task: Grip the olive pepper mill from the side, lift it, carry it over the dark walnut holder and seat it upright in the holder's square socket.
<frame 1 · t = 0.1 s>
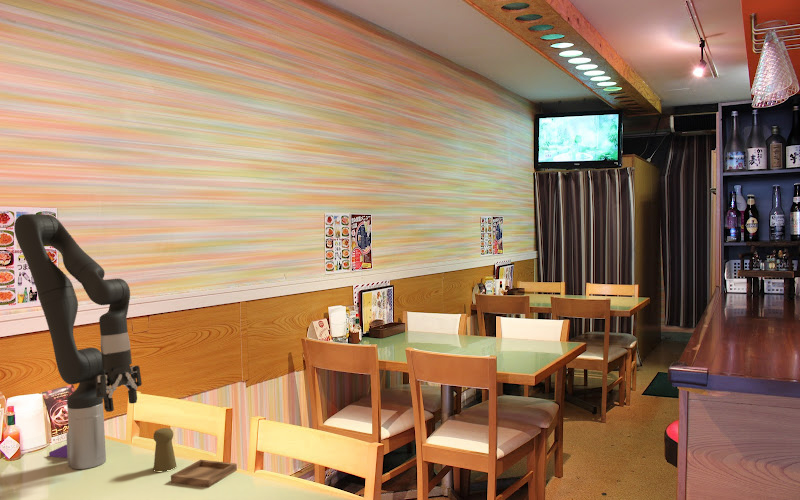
hand: (121, 407, 176), 17 cm above the table, tool pointing down, fingers open, 8 cm apart
holder: (204, 476, 168), on the table
bracket: (74, 455, 191), on the table
olive pepper mill: (165, 468, 175), on the table
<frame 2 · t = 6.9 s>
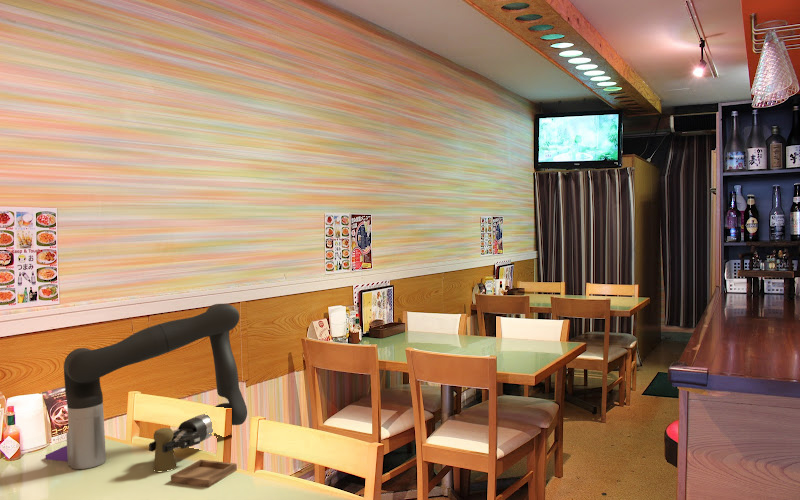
hand: (157, 448, 172), 7 cm above the table, tool horizontal, fingers closed on olive pepper mill, 4 cm apart
bracket: (70, 458, 188), on the table
olive pepper mill: (165, 468, 175), on the table, touching gripper
when the fingers open (8 cm above the table, at t = 12.0 s): olive pepper mill moves 2 cm, resting in holder.
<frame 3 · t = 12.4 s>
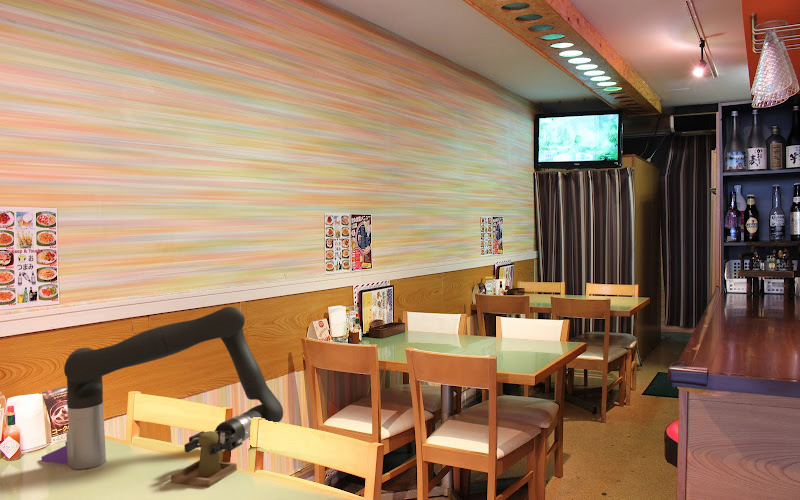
hand: (198, 450, 166), 8 cm above the table, tool horizontal, fingers open, 7 cm apart
bracket: (66, 460, 186), on the table, touching arm
olive pepper mill: (210, 474, 168), resting on holder, touching gripper
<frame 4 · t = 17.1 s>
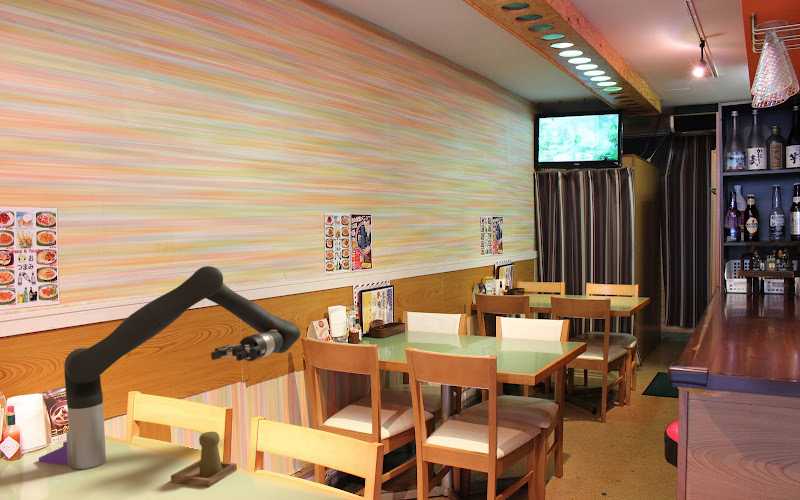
hand: (224, 356, 177), 30 cm above the table, tool horizontal, fingers open, 8 cm apart
olive pepper mill: (211, 474, 168), resting on holder
everything else where it was.
at the end: olive pepper mill 1.7 cm from the holder (horizontally); olive pepper mill tilted 0°; the gripper is holding nothing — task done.
